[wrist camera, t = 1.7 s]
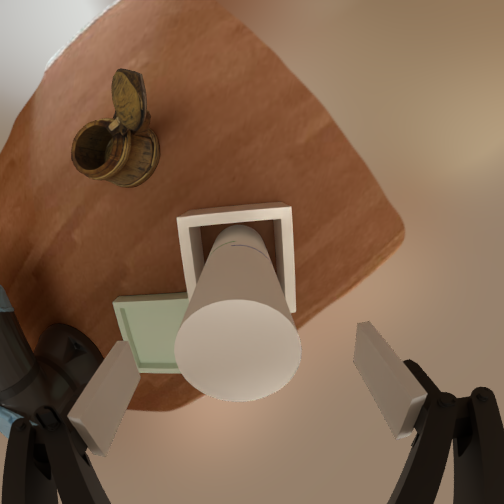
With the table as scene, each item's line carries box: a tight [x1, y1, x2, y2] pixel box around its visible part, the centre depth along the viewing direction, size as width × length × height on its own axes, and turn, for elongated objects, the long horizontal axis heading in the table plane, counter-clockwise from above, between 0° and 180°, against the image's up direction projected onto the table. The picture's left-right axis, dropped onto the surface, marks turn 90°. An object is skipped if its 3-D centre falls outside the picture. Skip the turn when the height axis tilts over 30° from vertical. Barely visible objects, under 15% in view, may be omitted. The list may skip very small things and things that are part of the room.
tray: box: [112, 292, 189, 373], centre depth 41 cm, size 13×13×2 cm
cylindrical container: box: [174, 225, 302, 402], centre depth 27 cm, size 7×7×25 cm
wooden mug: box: [71, 69, 160, 188], centre depth 26 cm, size 9×14×18 cm, turn 121°
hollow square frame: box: [177, 202, 296, 313], centre depth 35 cm, size 12×12×8 cm
